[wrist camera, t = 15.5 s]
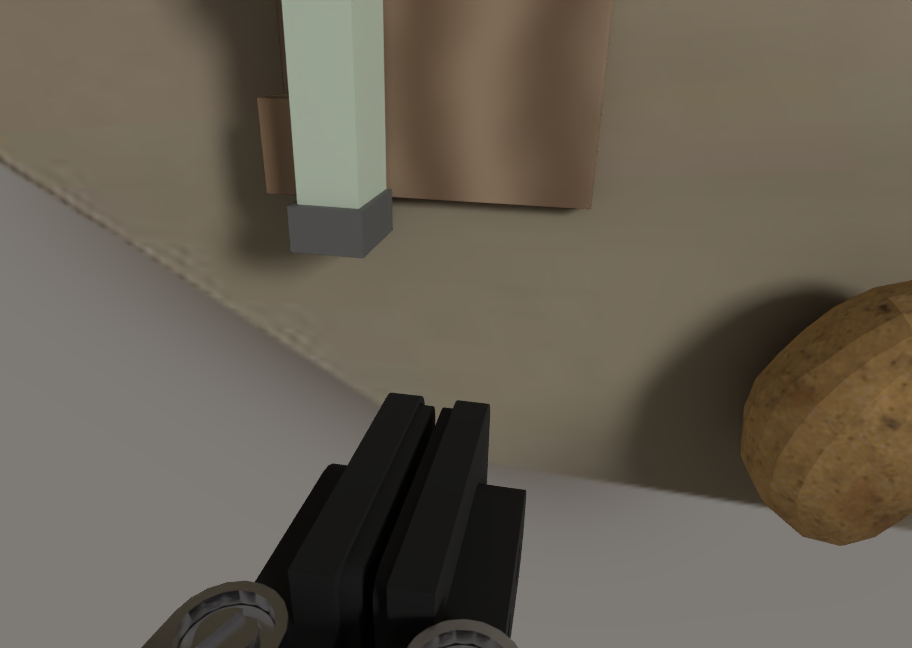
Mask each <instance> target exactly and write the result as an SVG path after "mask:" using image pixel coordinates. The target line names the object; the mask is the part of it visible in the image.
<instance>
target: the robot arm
mask: <svg viewBox="0 0 912 648" xmlns="http://www.w3.org/2000/svg"><path fill="white" fill-rule="evenodd" d="M489 426H490V405H489V404H485V403H476V402H467V401H459V400H457V401H456V402H455V405H454V407H453V409H452V408H442V410H441V413H440V415H439V418H438V420H437V423H436V425H435V408H434V406H427V405H425V402H424V398H423V396H416V395H407V394H398V393H389V395H388V396H387V397H386V399H385V401H384V403H383V404H382V406H381V408H380V410H379V411H378V413H377V415H376V417H375V418H374V420H373V422H372V424H371V425H370V427H369V429H368V431H367V432H366V434H365V436H364V438H363V439H362V441H361V443H360V445H359V446H358V448H357V450H356V451H355V453H354V455H353V457H352V458H351V461H350V462H349V464H348V465H340V464H331V465H329V466H328V467H327V468H326V469H325V470H324V472H323V473H322V475H321V476H320V478H319V480H318V481H317V483H316V484H315V486H314V488H313V489H312V491H311V493H310V494H309V496H308V497H307V499H306V501H305V502H304V504H303V505H302V507H301V509H300V510H299V512H298V514H297V515H296V517H295V518H294V520H293V522H292V523H291V525H290V526H289V528H288V530H287V531H286V533H285V534H284V536H283V538H282V539H281V541H280V542H279V544H278V546H277V547H276V549H275V551H274V552H273V554H272V555H271V557H270V559H269V560H268V562H267V564H266V565H265V567H264V568H263V570H262V571H261V573H260V575H259V576H258V578H257V580H256V581H255V582H249V581H238V582H227V583H223V584H221V585H217V586H214V587H211V588H208V589H206V590H204V591H202V592H200V593H199V594H197V595H195V596H193V597H191V598H190V599H189V600H188V601H187V602H185V603H184V604H183V605H182V606H181V607H179V608H178V609H177V610H176V611H175V612H174V613H173V614H172V615H171V616H170V617H169V618H168V620H167V621H166V622H165V623H164V624H163V625H162V626H161V627H160V628H159V629H158V630H157V631H156V632H155V633H154V635H153V636H152V637H151V638H150V639H149V640H148V641H147V642H146V643H145V644H144V645H143V647H142V648H518V647H517V646H516V644H515V643H514V642H513V641H512V640H511V639H510V638H511V630H512V623H513V616H514V615H513V614H514V608H515V600H516V593H517V585H518V577H519V569H520V559H521V550H522V539H523V529H524V516H525V503H526V490H521V489H514V488H507V487H500V486H493V485H487V468H488V447H489Z"/></svg>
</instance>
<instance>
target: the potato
mask: <svg viewBox="0 0 912 648" xmlns="http://www.w3.org/2000/svg"><path fill="white" fill-rule="evenodd" d="M740 455H741V458H742V460H743V462H744V465H745V467H746V469H747V471H748V474H749V476H750V478H751V480H752V483H753V485H754V487H755V489H756V490H757V492H758V494H759V496H760V498H761V500H762V502H763V503H765V504H766V505H767V506H768V507H769V508H770V509H771V510H773V511H774V512H775V513H776V514H777V515H778V516H780V517H781V518H782V519H783V520H784V521H785V522H786V523H788V524H789V525H790V526H791V527H792V528H793V529H795V530H796V531H797V532H799V534H801V535H802V536H803V537H807V538H811V539H815V540H819V541H823V542H827V543H831V544H835V545H840V546H841V545H847V544H851V543H854V542H858V541H861V540H865V539H869V538H873V537H875V536H877V535H878V534H880V533H882V532H883V531H884V530H886V529H888V528H889V527H891V526H892V525H894V524H896V523H897V522H899V521H900V520H902V519H903V518H905V517H906V516H907V515H909V514H910V513H912V280H911V281H906V282H901V283H896V284H891V285H885V286H880V287H875V288H872V289H870V290H868V291H866V292H864V293H862V294H860V295H858V296H856V297H854V298H851V299H849V300H847V301H845V302H843V303H841V304H839V305H837V306H835V307H833V308H832V309H830V310H829V311H828V312H826V313H825V314H824V315H822V316H821V317H820V318H819V319H817V320H816V321H815V322H813V323H812V324H811V325H809V326H808V327H807V328H805V329H804V330H803V331H802V332H801V333H800V334H799V335H798V336H797V337H796V338H794V339H793V340H792V341H791V342H790V343H789V344H788V345H787V346H786V347H785V348H784V349H783V350H782V351H781V352H780V353H778V355H777V356H776V357H775V358H774V359H773V360H772V361H771V362H770V363H769V364H768V365H767V367H766V368H765V369H764V370H763V371H762V372H761V373H760V374H759V375H758V376H757V377H756V379H755V381H754V384H753V386H752V388H751V391H750V393H749V396H748V398H747V401H746V403H745V405H744V411H743V422H742V434H741V449H740Z"/></svg>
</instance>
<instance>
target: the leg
mask: <svg viewBox="0 0 912 648" xmlns="http://www.w3.org/2000/svg"><path fill="white" fill-rule="evenodd" d="M282 12H283V25H284V38H285V51H286V64H287V77H288V90H289V103H290V116H291V129H292V142H293V155H294V167H295V180H296V193H297V201H296V202H294V203H292V204H290V205H288V206H287V215H288V227H289V238H290V250H291V252H296V253H308V254H319V255H331V256H342V257H354V258H364V257H365V256H366V255H367V254H368V253H369V252H370V251H371V250H372V249H373V248H374V247H375V246H376V245H377V244H379V243H380V242H381V241H382V240H383V239H384V238H385V237H386V236H387V235H388V234H389V233H390V232H391V231H392V230H393V227H392V189H386V140H385V86H384V32H383V0H282Z"/></svg>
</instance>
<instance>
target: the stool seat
mask: <svg viewBox="0 0 912 648" xmlns="http://www.w3.org/2000/svg"><path fill="white" fill-rule="evenodd" d="M276 5H277V17H278V28H279V40H280V51H281V63H282V74H283V86H284V94H278V95H272V96H266V97H260V98H257V104H258V113H259V123H260V133H261V142H262V152H263V161H264V171H265V180H266V190H267V193H269V194H285V195H297V193H296V180H295V167H294V155H293V142H292V129H291V116H290V103H289V90H288V77H287V64H286V51H285V38H284V25H283V12H282V0H276ZM612 9H613V0H383V32H384V86H385V140H386V189H392V197H401V198H417V199H433V200H449V201H466V202H482V203H498V204H514V205H530V206H546V207H562V208H578V209H591V203H592V193H593V184H594V175H595V166H596V156H597V147H598V138H599V129H600V120H601V110H602V101H603V92H604V83H605V73H606V64H607V55H608V46H609V36H610V27H611V18H612Z"/></svg>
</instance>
